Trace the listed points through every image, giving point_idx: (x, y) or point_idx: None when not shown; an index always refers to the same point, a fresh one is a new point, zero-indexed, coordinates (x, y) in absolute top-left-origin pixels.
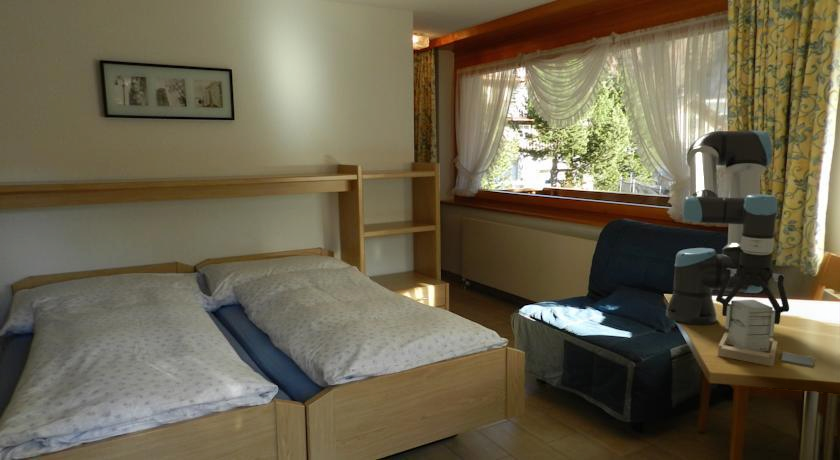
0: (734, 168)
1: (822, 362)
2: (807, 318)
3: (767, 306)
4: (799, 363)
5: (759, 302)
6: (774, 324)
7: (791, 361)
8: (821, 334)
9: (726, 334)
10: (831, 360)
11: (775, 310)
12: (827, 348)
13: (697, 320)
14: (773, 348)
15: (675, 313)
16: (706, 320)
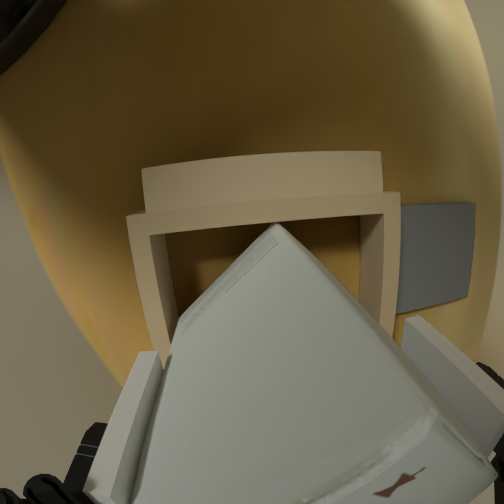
0: None
1: (486, 220)
2: None
3: (473, 496)
4: (439, 302)
5: (455, 478)
6: (453, 349)
7: (422, 306)
8: None
9: (143, 254)
10: (500, 180)
11: (496, 469)
12: (476, 56)
13: (8, 52)
14: (386, 328)
15: None
16: (37, 20)
